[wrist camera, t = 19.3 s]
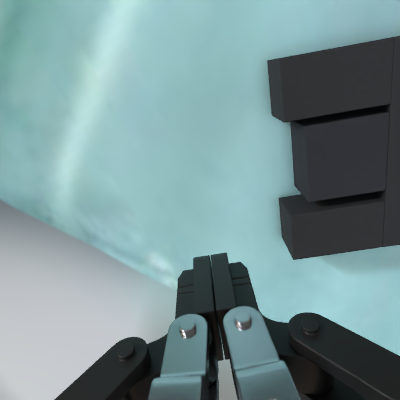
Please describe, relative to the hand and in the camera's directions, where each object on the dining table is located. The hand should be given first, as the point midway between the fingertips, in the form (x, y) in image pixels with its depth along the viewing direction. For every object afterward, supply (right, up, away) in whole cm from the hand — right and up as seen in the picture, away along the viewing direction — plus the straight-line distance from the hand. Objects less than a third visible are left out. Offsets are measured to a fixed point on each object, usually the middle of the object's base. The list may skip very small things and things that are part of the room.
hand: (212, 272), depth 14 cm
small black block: (+10, +8, +13) cm, 19 cm away
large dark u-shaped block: (+11, +8, +13) cm, 19 cm away
